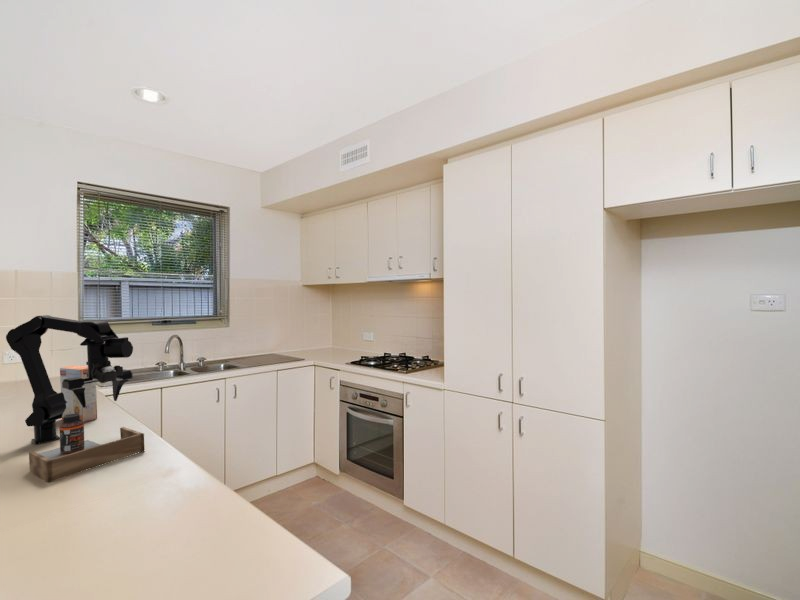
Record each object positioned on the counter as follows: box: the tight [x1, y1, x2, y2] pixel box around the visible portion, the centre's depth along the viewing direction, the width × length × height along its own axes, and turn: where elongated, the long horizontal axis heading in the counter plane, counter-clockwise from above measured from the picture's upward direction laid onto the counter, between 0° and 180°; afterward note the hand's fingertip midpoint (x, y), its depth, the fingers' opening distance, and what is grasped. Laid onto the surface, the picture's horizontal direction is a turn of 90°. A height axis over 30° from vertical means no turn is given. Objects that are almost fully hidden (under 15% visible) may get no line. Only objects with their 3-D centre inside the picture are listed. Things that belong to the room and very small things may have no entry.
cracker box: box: [59, 365, 98, 423], centre depth 164 cm, size 14×6×21 cm, turn 65°
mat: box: [37, 439, 101, 459], centre depth 129 cm, size 14×14×1 cm
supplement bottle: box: [59, 414, 85, 454], centre depth 129 cm, size 6×6×11 cm
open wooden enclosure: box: [28, 426, 145, 483], centre depth 122 cm, size 13×24×6 cm, turn 148°
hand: (100, 404), depth 140 cm, fingers open, 9 cm apart
